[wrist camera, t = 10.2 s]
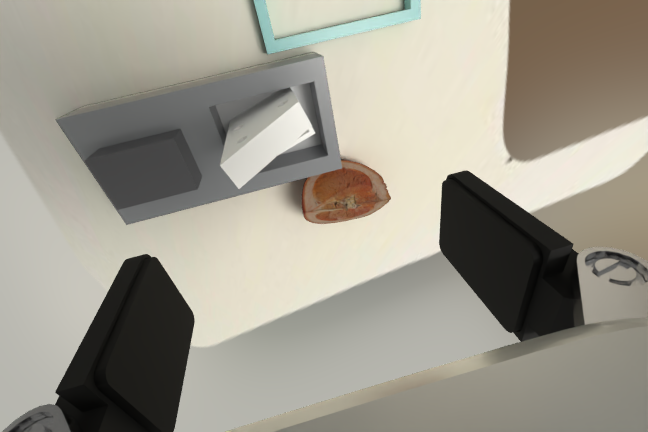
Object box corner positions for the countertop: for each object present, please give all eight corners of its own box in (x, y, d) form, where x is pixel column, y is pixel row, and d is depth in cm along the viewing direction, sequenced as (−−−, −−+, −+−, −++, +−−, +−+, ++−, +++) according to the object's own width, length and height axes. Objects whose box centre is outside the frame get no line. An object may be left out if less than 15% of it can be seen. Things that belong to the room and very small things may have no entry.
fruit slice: (376, 151, 31) (394, 170, 27) (372, 207, 35) (388, 232, 31) (294, 159, 30) (301, 181, 26) (299, 217, 34) (306, 244, 30)
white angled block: (182, 156, 24) (220, 165, 18) (271, 88, 28) (332, 74, 21) (212, 190, 26) (256, 210, 20) (292, 123, 30) (353, 120, 23)
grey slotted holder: (82, 106, 24) (34, 129, 19) (314, 51, 25) (330, 59, 20) (140, 201, 29) (115, 241, 24) (332, 152, 30) (349, 179, 25)
